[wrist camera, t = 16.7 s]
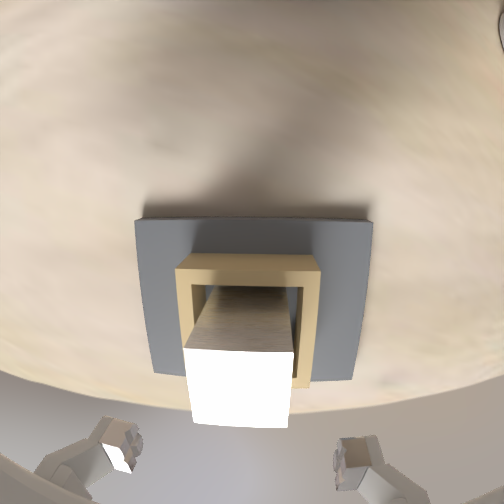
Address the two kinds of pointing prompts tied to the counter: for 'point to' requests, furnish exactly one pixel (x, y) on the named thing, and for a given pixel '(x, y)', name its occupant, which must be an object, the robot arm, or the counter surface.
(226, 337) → the block
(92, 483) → the robot arm
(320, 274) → the collar stand
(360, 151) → the counter surface
